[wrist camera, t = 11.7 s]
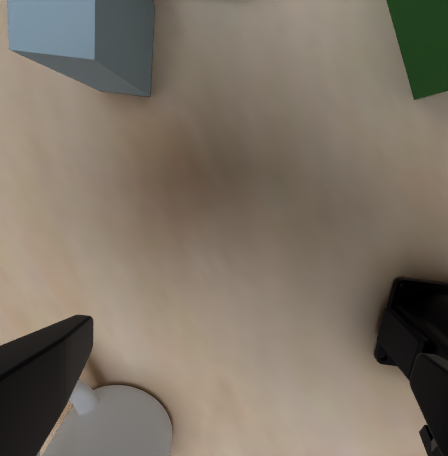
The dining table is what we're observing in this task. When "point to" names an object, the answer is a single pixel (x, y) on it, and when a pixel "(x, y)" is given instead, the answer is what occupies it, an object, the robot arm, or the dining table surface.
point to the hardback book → (423, 43)
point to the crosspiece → (88, 40)
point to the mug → (112, 424)
